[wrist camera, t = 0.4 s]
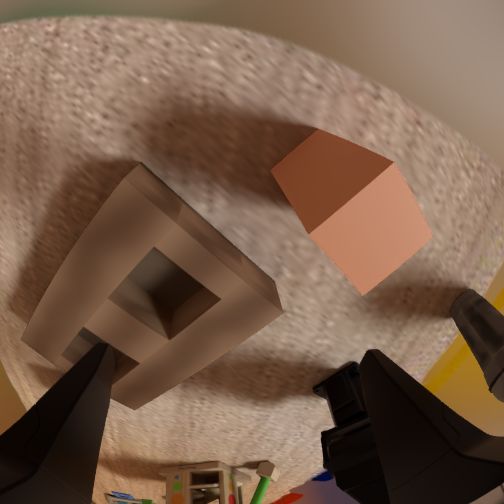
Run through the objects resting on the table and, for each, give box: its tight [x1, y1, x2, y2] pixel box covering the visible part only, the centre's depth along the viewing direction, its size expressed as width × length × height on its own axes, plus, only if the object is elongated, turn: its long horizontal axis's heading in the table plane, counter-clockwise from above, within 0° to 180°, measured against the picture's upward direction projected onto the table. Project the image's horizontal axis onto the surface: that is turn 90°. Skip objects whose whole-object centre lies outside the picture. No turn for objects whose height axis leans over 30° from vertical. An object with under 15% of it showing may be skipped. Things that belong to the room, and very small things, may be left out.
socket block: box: [21, 162, 283, 410], centre depth 23 cm, size 14×20×4 cm
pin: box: [270, 129, 434, 296], centre depth 16 cm, size 4×4×10 cm
